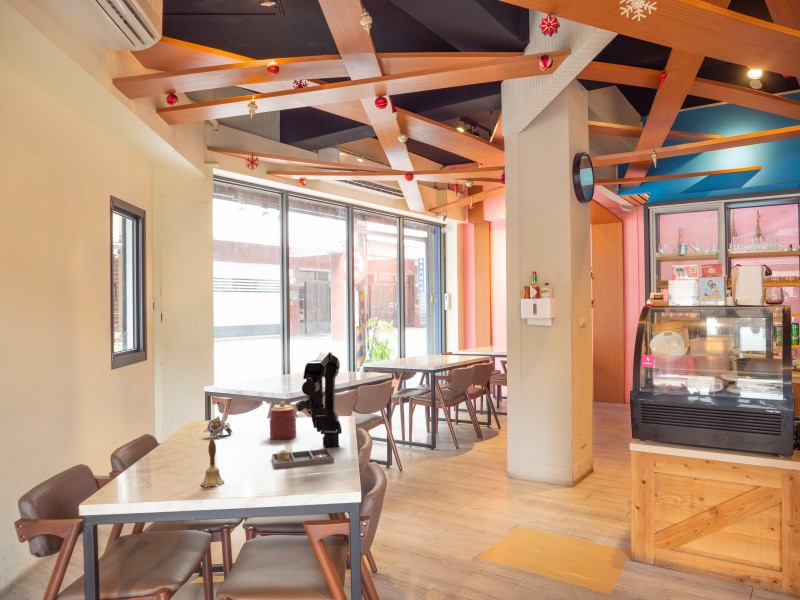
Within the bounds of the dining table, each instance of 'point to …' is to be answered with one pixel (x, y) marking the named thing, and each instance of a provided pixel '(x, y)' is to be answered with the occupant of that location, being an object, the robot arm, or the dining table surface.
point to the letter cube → (283, 456)
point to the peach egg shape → (320, 456)
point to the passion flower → (218, 427)
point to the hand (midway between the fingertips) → (316, 429)
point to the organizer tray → (304, 458)
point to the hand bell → (212, 469)
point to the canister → (282, 422)
